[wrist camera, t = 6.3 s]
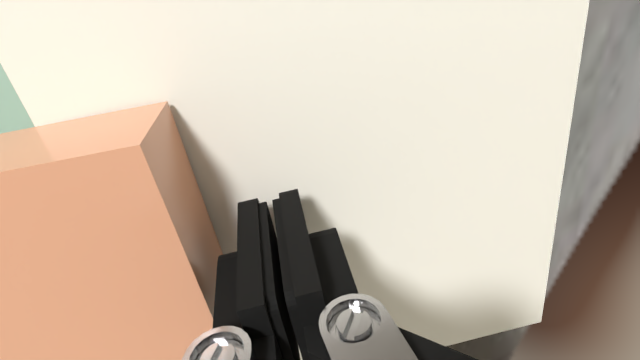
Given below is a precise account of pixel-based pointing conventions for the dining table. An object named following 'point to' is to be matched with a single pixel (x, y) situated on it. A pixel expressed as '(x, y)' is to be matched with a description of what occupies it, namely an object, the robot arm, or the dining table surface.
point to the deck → (346, 127)
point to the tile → (103, 240)
